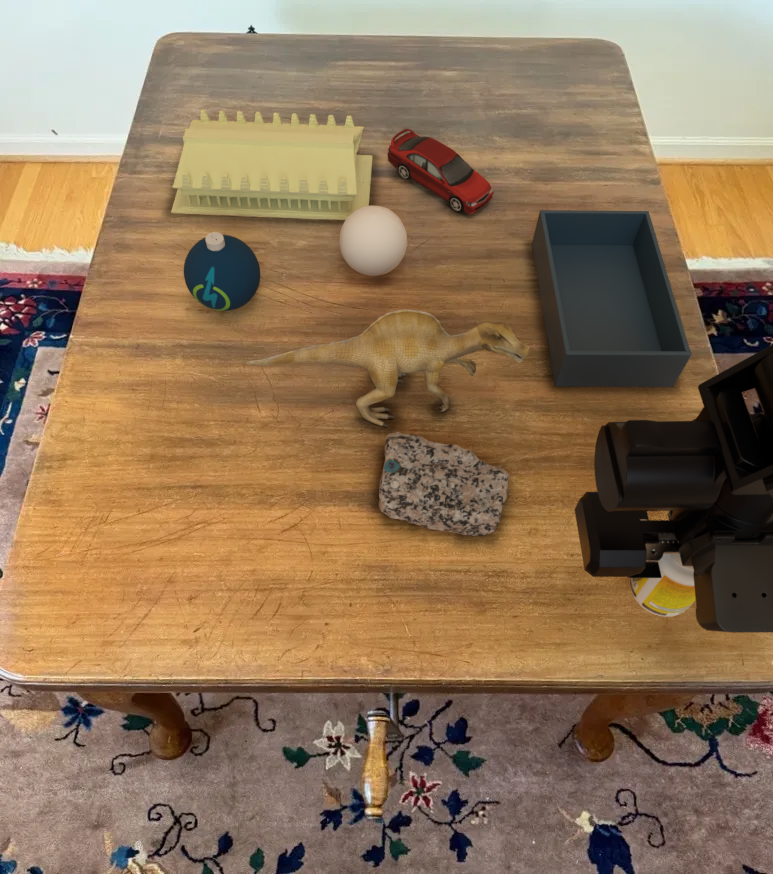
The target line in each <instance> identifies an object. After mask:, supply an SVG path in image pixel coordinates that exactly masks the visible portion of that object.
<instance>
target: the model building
mask: <svg viewBox="0 0 773 874" xmlns="http://www.w3.org/2000/svg"><path fill="white" fill-rule="evenodd" d="M199 117H200V119H191V123H190V125H189V128H187V127H186V128H185V129H184V134H183V135H182V140H183V148H181V155H180V156H179V163H178V164H177V170H176V172H175V177H174V180H173V184H172V185H171V187H172V189H177V190H176V194H175V198H174V201H173V204H172V208H171V211H170V213H171V214H179V215H180V214H181V215H202V216H203V215H205V216H229V217H230V216H233V217H255V218H256V217H257V218H279V219H303V220H305V219H306V220H330V221H345V220H346V219H347V218H348V216H349V215H351V214H352V213H353V212H354V211H356V210H357V209H359V208H362V207H365V206H370V194H371V184H372V183H371V181H372V171H373V169H372V167H373V155H371V154H358V152H359V146H360V142H361V140H362V135H363V131H364V128H365V126H359V125H357V126H356V125H355V122H354V119H353V115H346V119H345V123H344V125H337V124H336V120H335V117H334V115H333V114H329V115H328V116H327V121H326V124H319V122H318V119H317V117H316V114H314V113H311V114H309V119H308V121H309V122H308V123H307V124H306V123H300V119H299V116H298V114H297V113H291V120H290V123H284V122H283V120H282V118H281V116H280V113H279V112H273V117H272V122H265V121H264V118H263V115H262V114H261V112H260V111H255V115H254V121H247V119H246V118H245V115H244V113H243V111H241V110H237V112H236V121H233V120H229V119H228V117H227V115H226V112H225V111H224V110H219V111H218V119H217V120H211V118H210V116H209V114H208V112H207V110H206V109H200V116H199Z"/></svg>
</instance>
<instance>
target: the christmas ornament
mask: <svg viewBox="0 0 773 874" xmlns="http://www.w3.org/2000/svg"><path fill="white" fill-rule="evenodd" d="M183 278H184V282H185V286H186V287H187V290H188V292H189V293H190V295H191V296H192V297H193V298H194V299H195V301H197V302H198V303H199V304H200V305H202V306H204V307H206V308H207V309H210V310H212V311H213V310H214V311H218V312H229V311H234V310H238V309H240V308H242V307H244V306H245V305H247V304H248V303H249V302H250V301H251V300H252V299H253V298H254V297H255V295H256V293H257V291H258V289H259V286H260V282H261V266H260V263H259V259H258V258H257V256H256V254H255V252H254V251H253V249H252V248H251V247H250V246H249V245H248V244H247V243H246V242H244V241H243V240H241V239H240V238H238V237H235V236H233V235H229V234H223V233H221V232H218V231H213V232H210V233H208V234H207V235H206V236H205V237H204V238H201V239H199V240H198V241H197V242H196V243H195V244H194V245H193V246H192V247H191V248H190V249H189V251H188V253H187V255H186V257H185V260H184V263H183Z"/></svg>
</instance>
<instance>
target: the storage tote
mask: <svg viewBox="0 0 773 874" xmlns="http://www.w3.org/2000/svg"><path fill="white" fill-rule="evenodd" d="M533 234H534V235H533V238H532V242H531V250H532V255H533V261H534V267H535V275H536V279H537V287H538V293H539V298H540V303H541V308H542V309H541V310H542V316H543V321H544V328H545V335H546V341H547V347H548V352H549V359H550V365H551V370H552V377H553V384H554V387H567V388H568V387H569V388H571V387H577V388H579V387H583V388H584V387H588V388H589V387H592V388H593V387H595V388H596V387H598V388H600V387H603V388H604V387H606V388H618V387H619V388H620V387H621V388H635V387H636V388H653V387H654V388H674V386H675V385H676V383H677V382H678V380H679V378H680V376H681V374H682V373H683V371H684V370H685V367H687V364H688V362H689V360H690V359H691V357H692V352H691V349H690V348H691V347H690V345H689V342H688V339H687V334H686V332H685V328H684V325H683V321H682V319H681V315H680V312H679V308H678V305H677V302H676V298H675V294H674V292H673V288H672V285H671V282H670V278H669V275H668V271H667V268H666V265H665V261H664V258H663V254H662V251H661V248H660V244H659V241H658V238H657V234H656V232H655V227H654V224H653V221H652V217H651V215H650V212H649V210H589V209H588V210H585V209H583V210H581V209H580V210H579V209H577V210H573V209H572V210H571V209H570V210H569V209H566V210H565V209H564V210H563V209H540V210H539V213H538V217H537V221H536V225H535V230H534V233H533Z"/></svg>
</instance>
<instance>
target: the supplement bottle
mask: <svg viewBox="0 0 773 874" xmlns="http://www.w3.org/2000/svg"><path fill="white" fill-rule="evenodd" d="M673 543H674V542H673ZM678 543H679V542H678ZM658 563H659V568H660V572H661V577H662V578H642V579H640V580H639V581H633V579H632V578H628V579H629V581H628V582H629V583H628V584H629V590H630V592H631V594H632V597H633V599H634V600H635V601H636V603H637V604H638V605H640V607H641V608H642V609H644V610H645V611H647V612H648V613H651V614H653V615H655V616H659V617H665V618H671V617H675V616H679V615H681V614H683V613H685V612H686V611H687V610H688V609H690V608H691V607H692V605H693V604H694V603H696V597H695V586H694V569H693V566H682V562H681V558H680V554H663V557H662V558H661V559H660V561H658Z"/></svg>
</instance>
